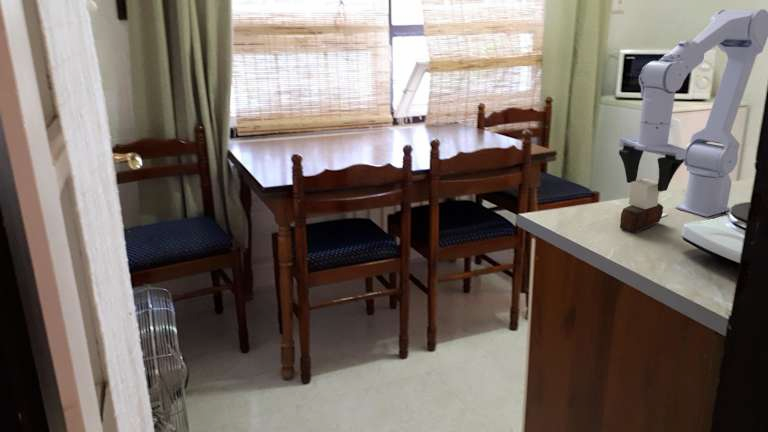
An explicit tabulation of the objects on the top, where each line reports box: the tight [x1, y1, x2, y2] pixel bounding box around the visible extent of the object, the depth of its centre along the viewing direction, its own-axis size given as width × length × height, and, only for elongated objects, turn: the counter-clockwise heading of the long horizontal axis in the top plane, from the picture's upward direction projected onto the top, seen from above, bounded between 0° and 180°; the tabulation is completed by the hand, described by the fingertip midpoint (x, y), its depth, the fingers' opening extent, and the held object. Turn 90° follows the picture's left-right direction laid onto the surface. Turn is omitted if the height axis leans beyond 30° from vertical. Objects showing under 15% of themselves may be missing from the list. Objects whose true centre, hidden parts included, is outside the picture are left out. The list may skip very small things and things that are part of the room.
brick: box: [619, 202, 664, 233], centre depth 127 cm, size 11×4×5 cm, turn 129°
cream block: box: [628, 178, 660, 209], centre depth 125 cm, size 4×4×5 cm
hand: (646, 186), depth 125 cm, fingers open, 7 cm apart
